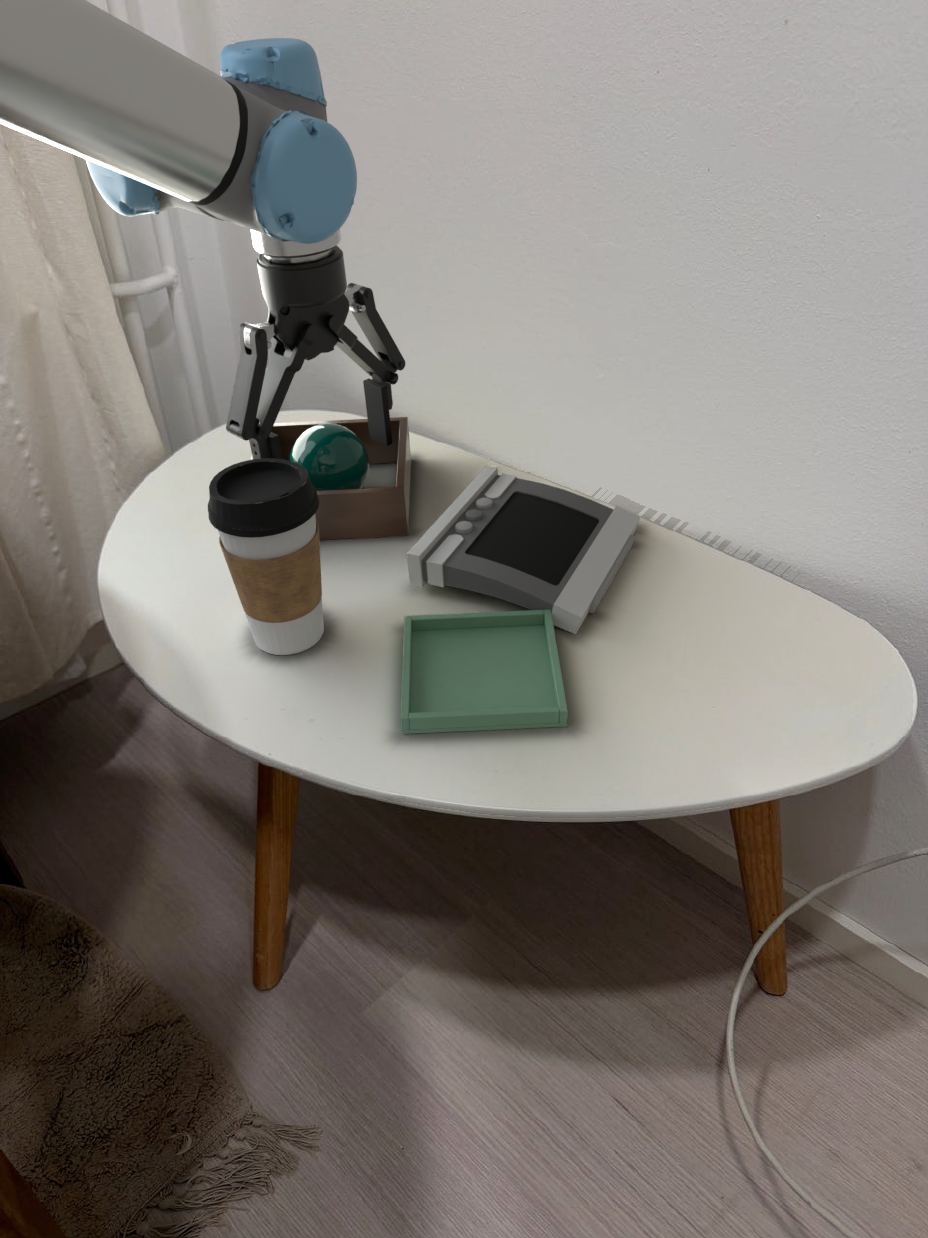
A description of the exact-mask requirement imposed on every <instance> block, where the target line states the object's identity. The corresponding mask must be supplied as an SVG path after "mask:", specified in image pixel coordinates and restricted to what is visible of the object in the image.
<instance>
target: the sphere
mask: <svg viewBox="0 0 928 1238" xmlns="http://www.w3.org/2000/svg"><path fill="white" fill-rule="evenodd" d="M289 461H291V462H295V463H297V464H299V465H301V466H303V467H304V468H305V469H306V470H307V471H308V473H309V477H310V480H311V483H312V485H313V486H314V487H315V489H316V491H329V490H351V489H363V487H364V485H365V484H366V481H367V478H368V475H369V472H370V464H369V458H368V454H367V450H366V448H365V445H364V444H363V442H362V440H361V439H360V438H359V437H358V436H357V435H356V434H355V433H354V432H352V431H351V430H350V429H348V428H346V427H344V426H341V425H337V424H332V423H325V424H319V425H315V426H313V427H311V428H309V429H307V430H306V431H305V432H303V433H302V434H301V435H300V436H299V437H298V438H297V440H296V441H295V443H294V445H293V447H292V449H291V453H290V458H289Z"/></svg>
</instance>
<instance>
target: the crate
mask: <svg viewBox="0 0 928 1238" xmlns="http://www.w3.org/2000/svg"><path fill="white" fill-rule="evenodd" d="M325 423H332V424H337V425H341V426H344V427H346V428H348V429H350V430H351V431H352V432H354V433H355V434H356V435H357V436H358V437H359V438H360V439H361V440H362V442H363V444H364V445H365V448H366V450H367V454H368V458H369V465H372V464H373V465H374V464H375V465H376V464H395V463H397V464H396V480H395V481H396V482H395V487H375V488H361V489H351V490H329V491H317V495H318V497H319V508H318V509H317V511H316V513H315V517H316V520H317V522H318V526H319V541H325V540H345V539H346V540H347V539H365V538H366V539H368V538H369V539H370V538H388V537H389V538H390V537H391V538H392V537H408V536H409V526H410V525H409V521H410V496H411V494H410V493H411V472H412V470H411V469H412V468H411V466H412V454H411V452H412V451H411V442H410V441H411V440H410V429H409V428H410V427H409V418H408V416H399V417H397V416H396V417H390V424H391V433H392V443H393V444H391V445H389V446H385V445H383V444H381V443H379V442H376V441H374V440H372V439H370V435H369V426H368V418H358V419H357V418H356V419H355V418H354V419H335V420H334V419H333V420H332V419H331V420H313V421H312V420H311V421H291V422H289V421H288V422H275V423H274V425H273V428H272V430H271V432H273V433H275V434H277V435H278V436H279V442H280V447H281V452H282V458H283V460H288V461H289V458H290V453H291V449H292V447H293V445H294V443H295V441H296V440H297V438H298V437H299V436H300V435H301V434H302V433H303V432H305V431H306V430H307V429H309V428H311V427H313V426H315V425H319V424H325ZM249 460H253V456H252V455H251V456H250V459H249Z"/></svg>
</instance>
